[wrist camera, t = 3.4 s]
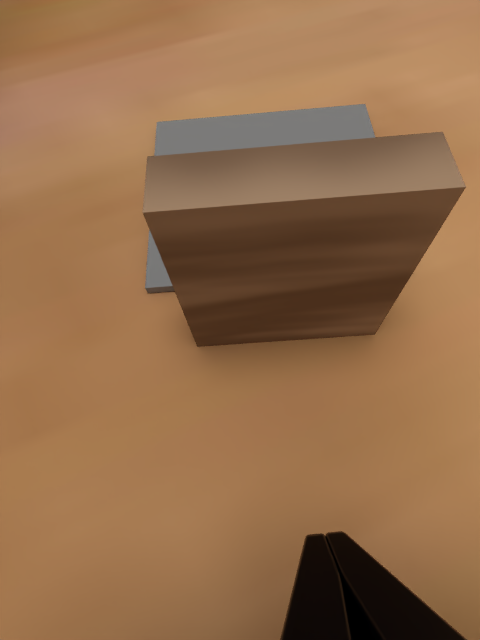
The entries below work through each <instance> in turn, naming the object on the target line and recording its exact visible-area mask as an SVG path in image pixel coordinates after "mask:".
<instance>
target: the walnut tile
mask: <svg viewBox="0 0 480 640" xmlns="http://www.w3.org/2000/svg"><path fill="white" fill-rule="evenodd" d="M465 188H466V186H465V184H464V181H463V179H462V176H461V174H460V172H459V169H458V167H457V165H456V162H455V160H454V158H453V155H452V153H451V150H450V148H449V146H448V143H447V141H446V139H445V136H444V134H443V132H435V133H423V134H411V135H399V136H387V137H375V138H363V139H351V140H339V141H327V142H315V143H303V144H291V145H279V146H267V147H255V148H243V149H232V150H220V151H208V152H196V153H184V154H172V155H160V156H148V157H147V167H146V179H145V191H144V203H143V214H144V217H145V219H146V222H147V224H148V227H149V229H150V232H151V234H152V237H153V239H154V241H155V244H156V246H157V249H158V251H159V254H160V256H161V259H162V261H163V263H164V266H165V268H166V271H167V273H168V276H169V278H170V281H171V283H172V285H173V288H174V290H175V293H176V295H177V298H178V300H179V303H180V305H181V308H182V310H183V312H184V315H185V317H186V320H187V322H188V325H189V327H190V330H191V332H192V334H193V337H194V339H195V342H196V344H197V347H199V346H214V345H228V344H243V343H257V342H272V341H286V340H301V339H315V338H330V337H344V336H359V335H373V334H375V333H376V331H377V330H378V328H379V327H380V325H381V323H382V322H383V320H384V319H385V317H386V315H387V314H388V312H389V310H390V309H391V307H392V306H393V304H394V302H395V301H396V299H397V298H398V296H399V294H400V293H401V291H402V289H403V288H404V286H405V285H406V283H407V281H408V280H409V278H410V276H411V275H412V273H413V272H414V270H415V268H416V267H417V265H418V264H419V262H420V260H421V259H422V257H423V255H424V254H425V252H426V251H427V249H428V247H429V246H430V244H431V243H432V241H433V239H434V238H435V236H436V234H437V233H438V231H439V230H440V228H441V226H442V225H443V223H444V222H445V220H446V218H447V217H448V215H449V213H450V212H451V210H452V209H453V207H454V205H455V204H456V202H457V201H458V199H459V197H460V196H461V194H462V192H463V191H464V189H465Z"/></svg>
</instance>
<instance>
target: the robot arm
mask: <svg viewBox="0 0 480 640" xmlns="http://www.w3.org/2000/svg"><path fill="white" fill-rule="evenodd" d="M280 640H466V639H465V638H464V637H463V636H462V635H461V634H460V633H458V632H457V631H456V630H455V629H454V628H453V627H452V626H450V625H449V624H448V623H447V622H446V621H445V620H444V619H442V618H441V617H440V616H439V615H438V614H437V613H436V612H435V611H433V610H432V609H431V608H430V607H429V606H428V605H427V604H425V603H424V602H423V601H422V600H421V599H420V598H419V597H417V596H416V595H415V594H414V593H413V592H412V591H411V590H409V589H408V588H407V587H406V586H405V585H404V584H403V583H401V582H400V581H399V580H398V579H397V578H396V577H395V576H394V575H392V574H391V573H390V572H389V571H388V570H387V569H386V568H384V567H383V566H382V565H381V564H380V563H379V562H378V561H376V560H375V559H374V558H373V557H372V556H371V555H370V554H368V553H367V552H366V551H365V550H364V549H363V548H362V547H360V546H359V545H358V544H357V543H356V542H355V541H354V540H352V539H351V538H350V537H349V536H348V535H347V534H346V533H344V532H342V531H340V532H330V533H327V534H326V535H324V534H312V535H307V536H306V538H305V541H304V545H303V549H302V553H301V557H300V561H299V566H298V570H297V574H296V578H295V582H294V586H293V590H292V594H291V598H290V602H289V606H288V610H287V614H286V618H285V622H284V627H283V631H282V635H281V639H280Z"/></svg>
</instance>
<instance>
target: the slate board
mask: <svg viewBox="0 0 480 640" xmlns="http://www.w3.org/2000/svg"><path fill="white" fill-rule="evenodd" d="M363 138H375V135H374V132H373V128H372V125H371V122H370V118H369V115H368V112H367V109H366V105H365V104H359V105H348V106H336V107H325V108H313V109H302V110H290V111H279V112H267V113H256V114H244V115H233V116H221V117H210V118H198V119H187V120H175V121H163V122H157V128H156V142H155V156H160V155H172V154H184V153H196V152H208V151H220V150H232V149H243V148H255V147H267V146H279V145H291V144H303V143H315V142H327V141H339V140H351V139H363ZM145 288H146V290H147V292H148V293H156V292H169V291H175V290H174V288H173V285H172V283H171V281H170V278H169V276H168V273H167V271H166V268H165V266H164V263H163V261H162V259H161V256H160V254H159V251H158V249H157V246H156V244H155V241H154V239H153V237H152V234H151V232H150V229H149V242H148V256H147V270H146V284H145Z"/></svg>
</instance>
